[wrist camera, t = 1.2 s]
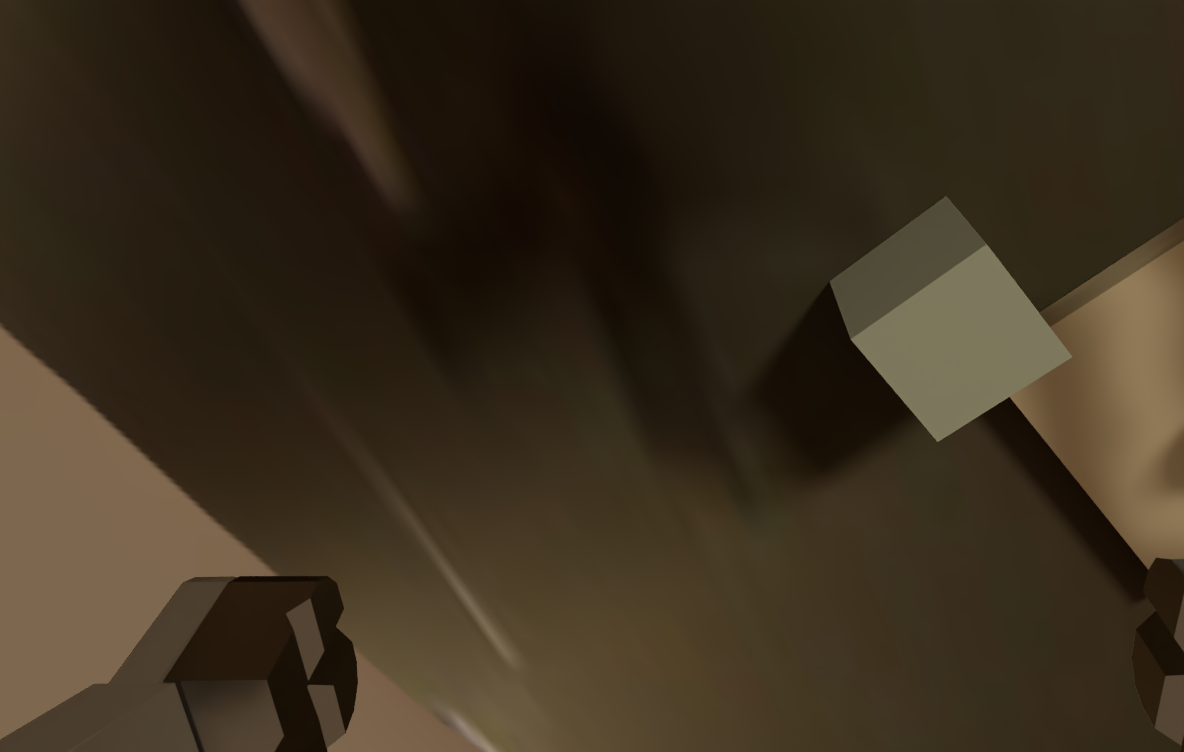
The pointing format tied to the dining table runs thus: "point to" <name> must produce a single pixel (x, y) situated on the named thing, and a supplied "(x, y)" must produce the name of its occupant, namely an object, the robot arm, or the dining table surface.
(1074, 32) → the dining table surface
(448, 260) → the dining table surface
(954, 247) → the sage green cube
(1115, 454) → the post board
